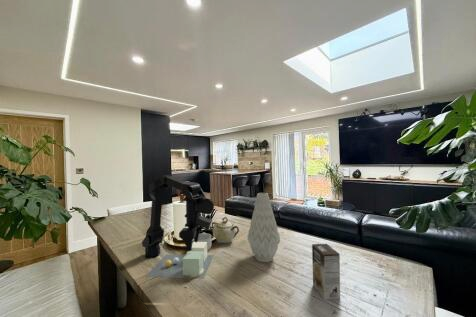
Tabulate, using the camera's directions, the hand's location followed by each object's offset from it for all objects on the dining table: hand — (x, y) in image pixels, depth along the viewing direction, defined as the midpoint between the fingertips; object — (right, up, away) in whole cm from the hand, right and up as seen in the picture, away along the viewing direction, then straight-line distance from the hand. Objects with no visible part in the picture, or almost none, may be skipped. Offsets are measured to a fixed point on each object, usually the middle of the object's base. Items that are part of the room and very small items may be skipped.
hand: (193, 246), depth 90 cm
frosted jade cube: (0, -11, 0) cm, 11 cm away
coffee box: (+53, -11, -14) cm, 56 cm away
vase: (+33, -12, +12) cm, 37 cm away
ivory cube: (0, -11, +12) cm, 16 cm away
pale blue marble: (-10, -12, +7) cm, 17 cm away
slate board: (-6, -12, +6) cm, 15 cm away
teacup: (0, -12, +24) cm, 27 cm away
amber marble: (-13, -12, +5) cm, 18 cm away
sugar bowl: (+12, -12, +35) cm, 39 cm away
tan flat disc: (0, -11, 0) cm, 11 cm away
